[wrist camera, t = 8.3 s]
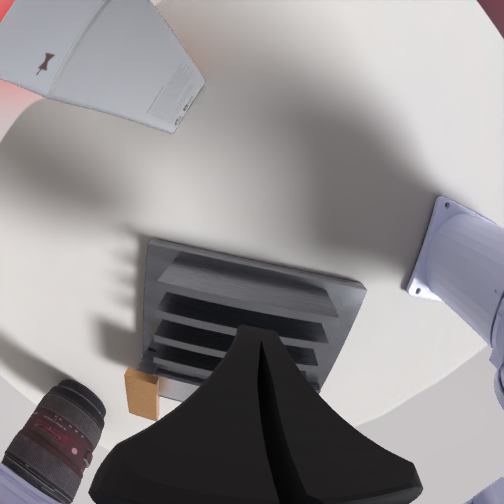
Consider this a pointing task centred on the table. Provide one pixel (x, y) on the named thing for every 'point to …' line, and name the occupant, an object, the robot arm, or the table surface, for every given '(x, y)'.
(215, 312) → the heatsink
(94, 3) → the skincare box
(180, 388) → the clip
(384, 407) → the table surface
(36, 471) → the camera lens
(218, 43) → the table surface
